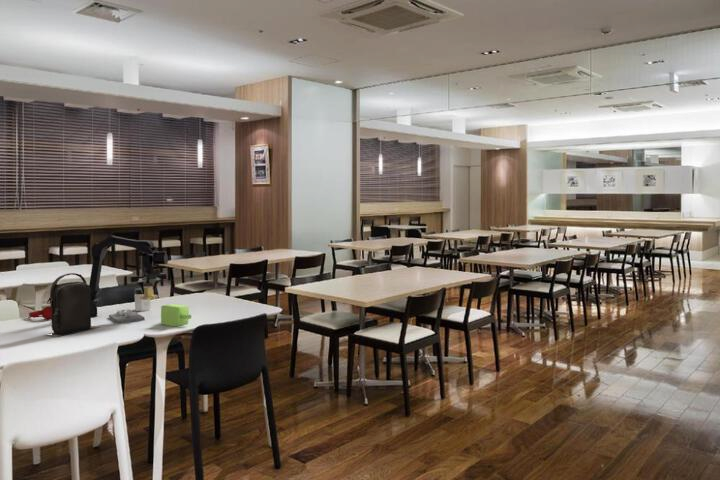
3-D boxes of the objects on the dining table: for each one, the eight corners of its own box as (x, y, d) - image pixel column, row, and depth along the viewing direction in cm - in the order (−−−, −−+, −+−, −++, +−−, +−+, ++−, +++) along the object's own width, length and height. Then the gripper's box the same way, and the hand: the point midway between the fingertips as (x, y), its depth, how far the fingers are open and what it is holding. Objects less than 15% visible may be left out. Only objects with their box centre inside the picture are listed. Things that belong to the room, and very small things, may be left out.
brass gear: (142, 300, 299) (141, 289, 299) (137, 297, 307) (136, 286, 306) (160, 298, 305) (159, 287, 304) (154, 296, 312) (154, 285, 312)
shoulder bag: (89, 325, 287) (87, 269, 285) (100, 327, 282) (98, 270, 280) (44, 335, 268) (41, 275, 266) (55, 337, 263) (52, 276, 261)
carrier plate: (118, 323, 290) (117, 313, 289) (109, 317, 304) (108, 307, 304) (144, 320, 297) (144, 309, 297) (134, 314, 312) (134, 304, 311)
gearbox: (197, 325, 288) (197, 306, 288) (182, 328, 280) (182, 308, 279) (172, 320, 297) (172, 302, 297) (157, 323, 289) (157, 304, 288)
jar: (138, 312, 318) (137, 290, 317) (132, 309, 324) (131, 288, 323) (154, 309, 324) (153, 288, 323) (147, 307, 330) (147, 286, 329)
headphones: (73, 315, 310) (49, 317, 319) (71, 302, 309) (47, 304, 318) (47, 320, 296) (23, 322, 305) (45, 307, 296) (21, 309, 305)
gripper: (133, 267, 292) (134, 297, 294) (170, 264, 303) (171, 293, 305) (127, 265, 301) (128, 294, 302) (163, 262, 312) (163, 290, 314)
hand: (148, 293), depth 306 cm, fingers closed on brass gear, 5 cm apart
